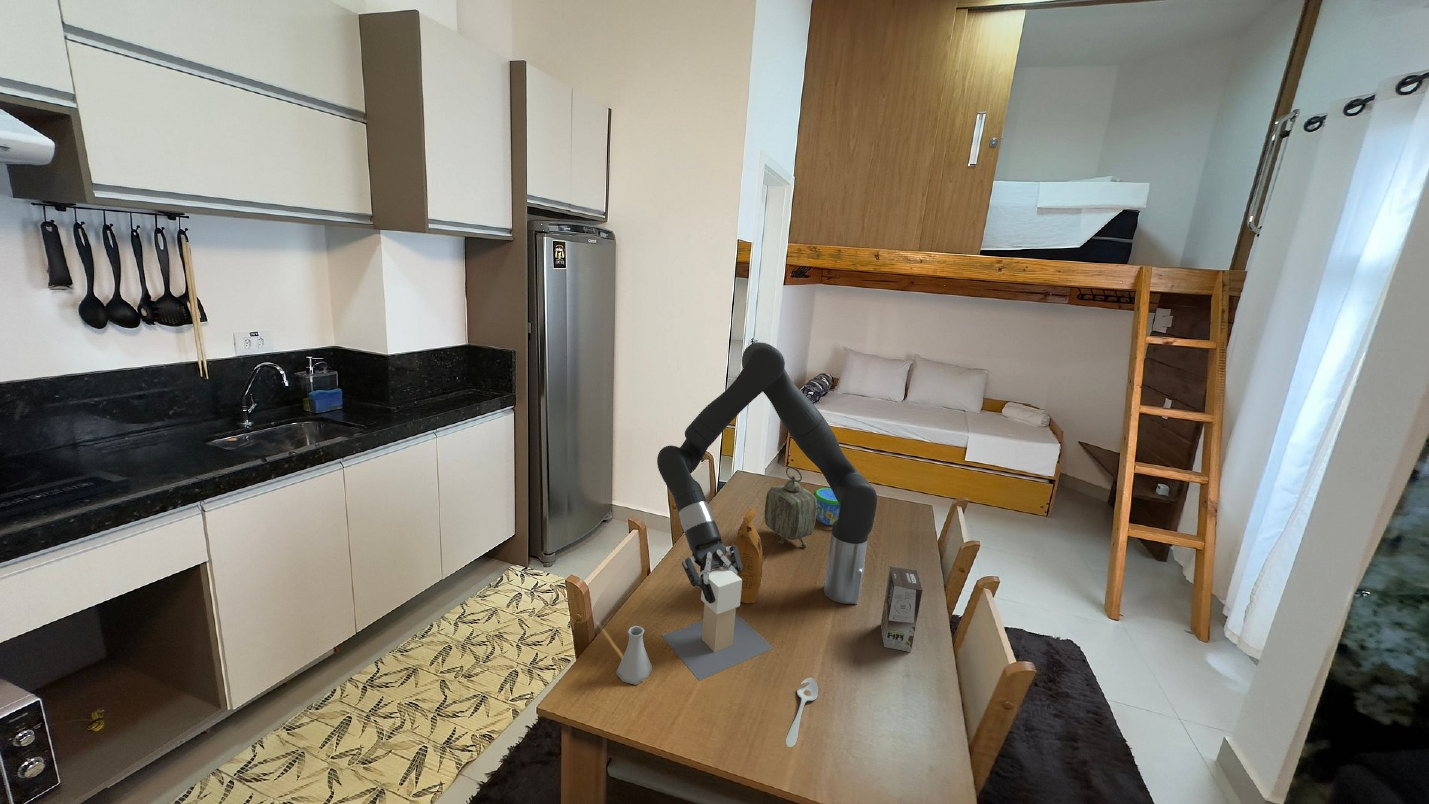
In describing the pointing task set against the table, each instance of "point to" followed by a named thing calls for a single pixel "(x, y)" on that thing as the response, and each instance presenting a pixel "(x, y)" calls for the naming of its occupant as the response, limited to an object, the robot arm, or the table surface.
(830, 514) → the snack cup
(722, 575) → the white cube block
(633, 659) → the flask
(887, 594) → the coffee box
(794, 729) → the spoon
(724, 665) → the mat
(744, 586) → the coffee package
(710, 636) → the beige tall block
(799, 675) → the table surface
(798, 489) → the tabletop clock
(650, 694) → the table surface
